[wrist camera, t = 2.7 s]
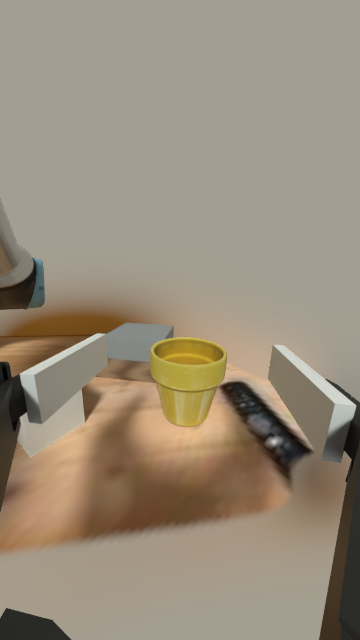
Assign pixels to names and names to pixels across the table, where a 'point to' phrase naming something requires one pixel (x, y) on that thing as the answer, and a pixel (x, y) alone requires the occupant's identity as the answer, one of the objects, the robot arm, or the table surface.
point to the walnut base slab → (127, 370)
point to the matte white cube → (51, 426)
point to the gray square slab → (135, 340)
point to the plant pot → (187, 377)
